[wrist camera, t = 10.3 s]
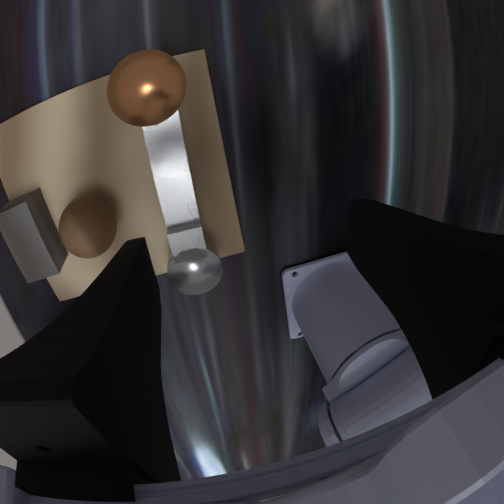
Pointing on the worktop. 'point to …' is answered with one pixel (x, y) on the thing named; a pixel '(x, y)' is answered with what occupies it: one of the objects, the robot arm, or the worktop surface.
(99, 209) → the brown ball
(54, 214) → the beige square panel
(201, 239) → the lever
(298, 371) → the worktop surface
